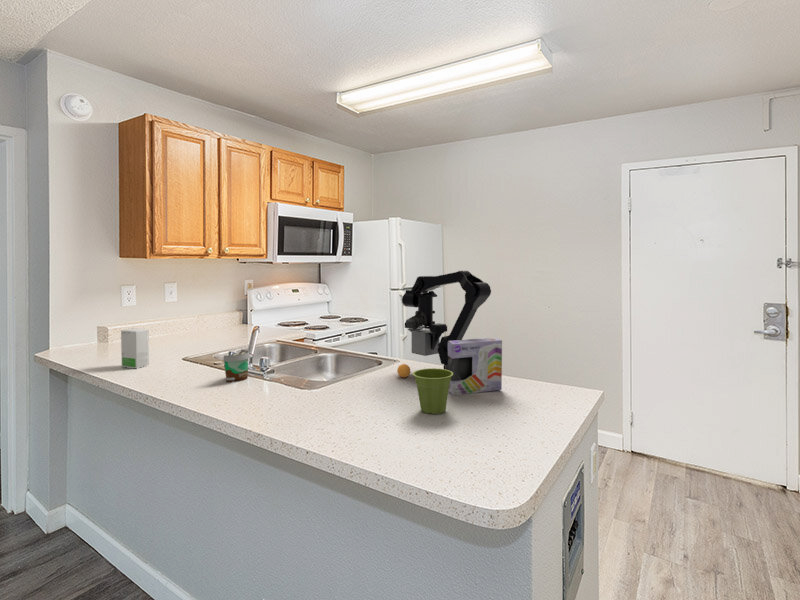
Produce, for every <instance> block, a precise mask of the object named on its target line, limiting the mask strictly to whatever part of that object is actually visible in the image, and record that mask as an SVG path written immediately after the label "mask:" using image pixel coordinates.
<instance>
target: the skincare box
mask: <svg viewBox="0 0 800 600" xmlns="http://www.w3.org/2000/svg"><path fill="white" fill-rule="evenodd" d="M120 336H121V337H120V340H121V341H120V345H121V351H120V352H121V368H125V367H127V368H126V369H133V368H138V369H141V368H140V367H142V368H144V367H143V366H146V367H148V366H147V365H150V360H149V359H150V353H149V352H150V350H149V349H150V347H149V345H150V344H149V338H150V337H149V329H145V328H134V327H132V328H128V329H127V328H126V329H122V330H120Z"/></svg>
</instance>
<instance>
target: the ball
mask: <svg viewBox="0 0 800 600" xmlns="http://www.w3.org/2000/svg"><path fill="white" fill-rule="evenodd" d="M396 369H397V371H396V373H397V374H398V376H399V377H401V378H407V377H408V376H410V375H411V367H410V366H409V365H408V364H406V363H403V364H399V366H398V367H397V368H396Z"/></svg>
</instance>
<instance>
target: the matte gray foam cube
mask: <svg viewBox="0 0 800 600" xmlns="http://www.w3.org/2000/svg"><path fill="white" fill-rule="evenodd" d="M429 332H430V330H429V329H425V328H423V329H421V330H413V331H412V332H411V354H414V355H419V356H424V357H427V356H432V355H437V354H438V355H439V353H438V347H439V346H438V344H439V343H440V339H439V340H438V342H437V344H436V346H435V348H434V349H433V350H432V349H431V337H430V335H429V334H428V333H429Z"/></svg>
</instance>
